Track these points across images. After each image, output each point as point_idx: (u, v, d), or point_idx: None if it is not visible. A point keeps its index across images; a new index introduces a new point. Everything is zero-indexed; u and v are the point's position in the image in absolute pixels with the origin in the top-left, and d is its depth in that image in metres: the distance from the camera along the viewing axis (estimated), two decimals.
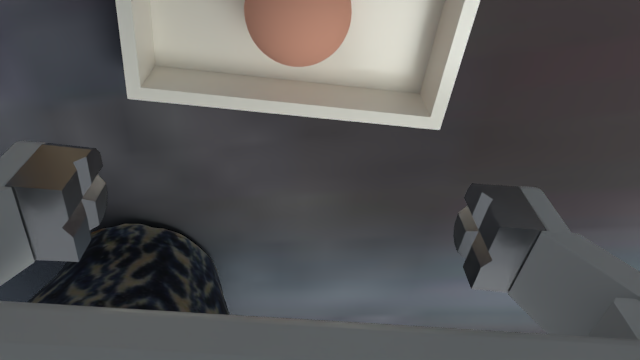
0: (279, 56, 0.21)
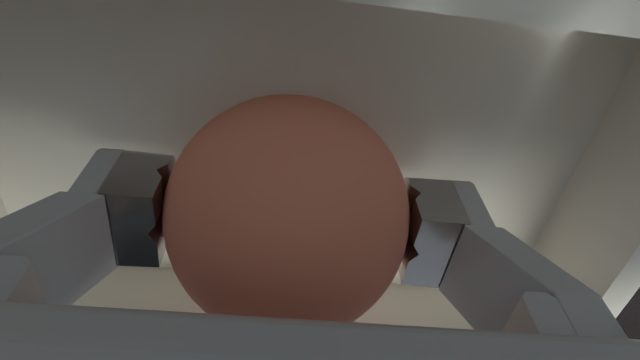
0: None
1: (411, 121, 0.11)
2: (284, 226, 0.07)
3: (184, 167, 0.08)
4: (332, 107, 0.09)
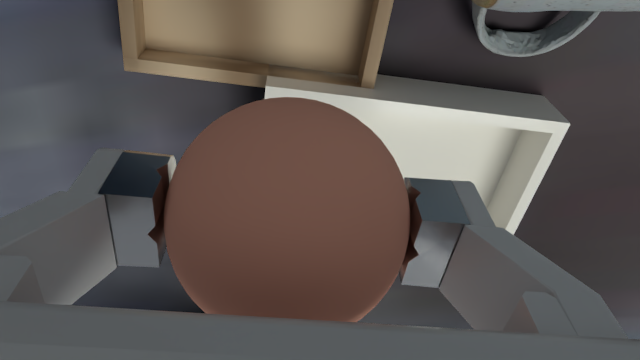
0: None
1: (440, 147, 0.29)
2: (285, 229, 0.07)
3: (186, 170, 0.08)
4: (333, 110, 0.09)
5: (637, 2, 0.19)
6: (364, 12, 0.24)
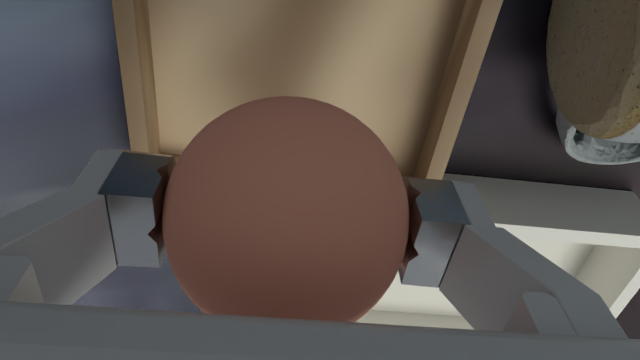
0: None
1: None
2: (284, 228, 0.07)
3: (184, 169, 0.08)
4: (332, 109, 0.09)
5: None
6: (425, 110, 0.20)
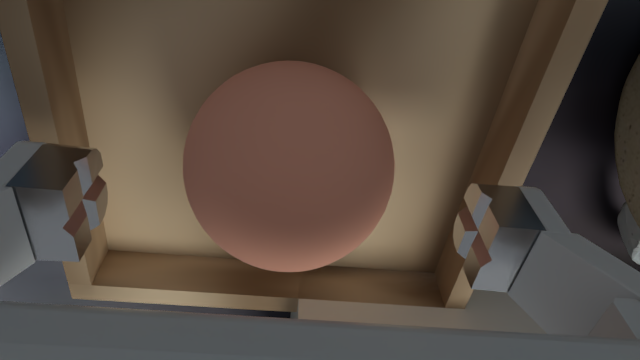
0: (252, 265, 0.11)
1: None
2: (286, 161, 0.09)
3: (203, 118, 0.10)
4: (328, 70, 0.10)
5: None
6: (452, 198, 0.15)
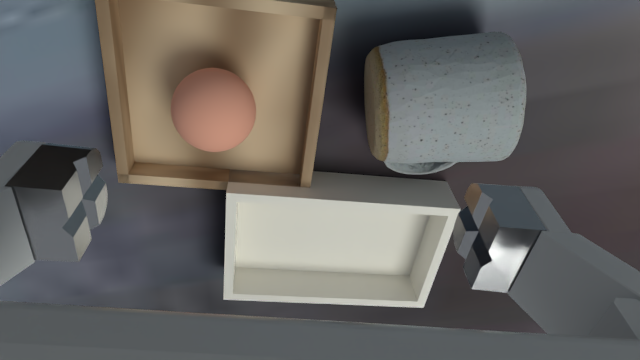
0: (197, 147, 0.27)
1: (369, 222, 0.37)
2: (205, 102, 0.26)
3: (178, 88, 0.27)
4: (226, 71, 0.27)
5: (479, 161, 0.28)
6: (300, 132, 0.32)
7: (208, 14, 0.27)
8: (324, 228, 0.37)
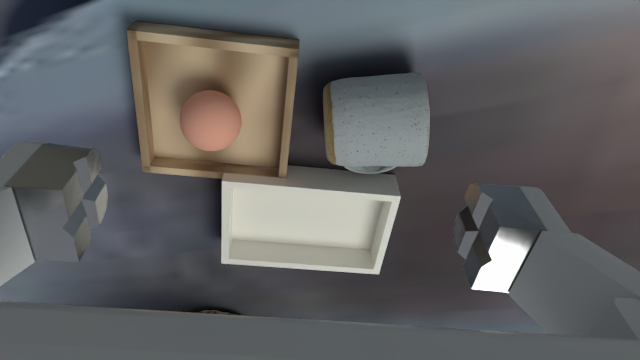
0: (197, 147, 0.38)
1: (335, 205, 0.47)
2: (202, 116, 0.36)
3: (184, 105, 0.37)
4: (219, 93, 0.37)
5: None
6: (278, 136, 0.42)
7: (208, 51, 0.38)
8: (300, 210, 0.47)
